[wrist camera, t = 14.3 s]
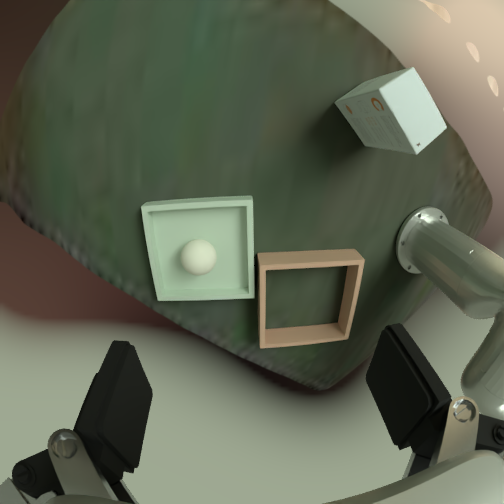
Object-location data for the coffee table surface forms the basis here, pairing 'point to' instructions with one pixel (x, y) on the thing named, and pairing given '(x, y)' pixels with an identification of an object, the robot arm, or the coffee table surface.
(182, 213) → the tray
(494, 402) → the robot arm
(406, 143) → the small box
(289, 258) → the tan square frame
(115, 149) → the coffee table surface
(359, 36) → the coffee table surface
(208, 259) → the ball
